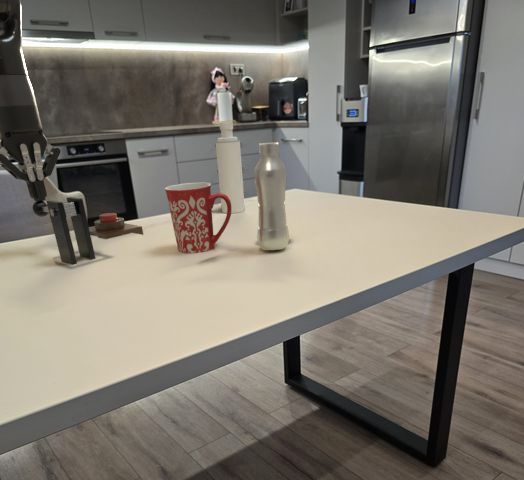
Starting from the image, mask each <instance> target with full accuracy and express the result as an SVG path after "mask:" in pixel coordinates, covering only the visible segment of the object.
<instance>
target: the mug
mask: <svg viewBox="0 0 524 480" xmlns="http://www.w3.org/2000/svg"><path fill="white" fill-rule="evenodd" d="M211 188H212V183H211V182H203V181H201V182H200V181H199V182H185V183H179V184H173V185H168V186H165V187H164V192H165V194H166V198H167V202H168V203H167V204H168V207H169V208H168V209H169V213H170V219H171V222H172V228H173V233H174V237H175V241H176V246H177V247H176V248H177V251H178V252H179V253H182V254H199V253H205V252H206V253H207V252H209V251H212V250H214V249H215V245H216V243H217V242H218V241H219V240H220V238H221V236H222V234H223V233H224V231H225V230H226V228H227V226H228V224H229V222H230V219H231V216H232V213H231V202H230V199H229V198H228V196H227V195H225V194H223V193H220V192H217V193H216V192H215V193H214V194H212V191H211ZM221 198H222V199H224V200H225V202H226V204H227V213H226V216H225V219H224V221H223V223H222V225H221V227H220V229H219V230H218V232H217V233H216V234H214V223H213V208H214V205H215V202H216V200H217V199H221Z"/></svg>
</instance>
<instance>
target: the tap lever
mask: <svg viewBox="0 0 524 480" xmlns="http://www.w3.org/2000/svg"><path fill="white" fill-rule="evenodd" d="M62 203H63V207H64V211H65V215H66V218H71V216H76V215H77V213H76V209H75V205H74V202H67V201H65V202H62ZM32 212H33V213H34V214H35V215H36V216H37V217H41V218H44V217H47V216H48V215H50V214H49V210H48V206H47V202H46V200H43V201H34V202H33V204H32Z"/></svg>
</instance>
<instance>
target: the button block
mask: <svg viewBox="0 0 524 480" xmlns="http://www.w3.org/2000/svg"><path fill="white" fill-rule="evenodd" d="M117 219H118V220H117V221H113V222H100V218H99V219H96V220H94V222H93V223H94V225H92V226H89V231H90V235H91V236H95V237H98V238H100V239H104V240H108V239H113V238H118V237H121V236H125V235H129V234H136V235H142V236H144V230H143V226H142V225H136V224H133V223H132V224H131V223H127V222H126V223H125V219H124V217H120V216H119V217H118V216H117Z"/></svg>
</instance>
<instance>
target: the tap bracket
mask: <svg viewBox="0 0 524 480" xmlns="http://www.w3.org/2000/svg"><path fill="white" fill-rule="evenodd" d="M45 202H46V203H47V206H48V210H49V214H48V215H49V217H50V222H51V225H52V230H53V233H54V238H55V241H56V246H57V249H58V252H59V258H60V261H61V262H62V263H65V264H68V265H71V266H74V265H77V264H78V261H77V257H76V253H75V249H74V245H73V244H74V243H73V240H72V237H71V233H70V227H69V224H68V220H67V217H66V215H65V211H64V207H63V203H64V202H63V201H58V200H45ZM66 202H74V205H75V209H76V213H77V215H76V216H71V217H70V219H71V224H72V229H73V233H74V236H75V240H76V245H77V249H78V253H79V257H80V258H83V259H87V260H91V261H92V260H95V259H96V255H95V249H94V245H93V241H92V235H90V231H89V227H90V226H89V222H88V218H87V214H86V208H85V204H84V199H83V198H82V197H74V196H68V197H66Z"/></svg>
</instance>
